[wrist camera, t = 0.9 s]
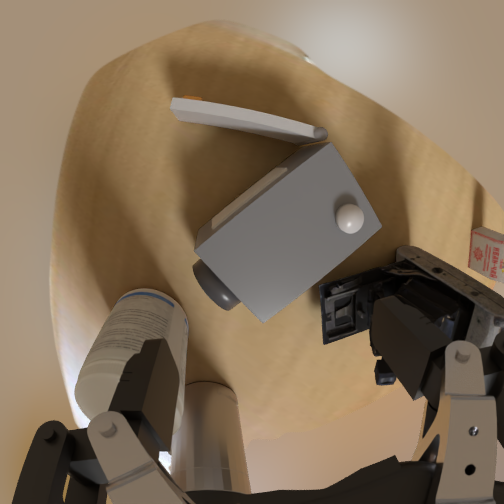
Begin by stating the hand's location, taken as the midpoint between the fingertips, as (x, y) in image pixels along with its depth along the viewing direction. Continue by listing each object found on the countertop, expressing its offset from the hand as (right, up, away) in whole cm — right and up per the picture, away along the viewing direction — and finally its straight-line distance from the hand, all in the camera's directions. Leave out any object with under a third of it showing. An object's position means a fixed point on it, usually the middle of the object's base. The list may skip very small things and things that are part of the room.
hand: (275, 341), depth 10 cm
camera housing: (+1, +6, +19) cm, 20 cm away
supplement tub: (-13, -5, +21) cm, 25 cm away
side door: (-2, +16, +16) cm, 23 cm away
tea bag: (+38, +4, +26) cm, 46 cm away
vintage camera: (+14, -1, +24) cm, 28 cm away
